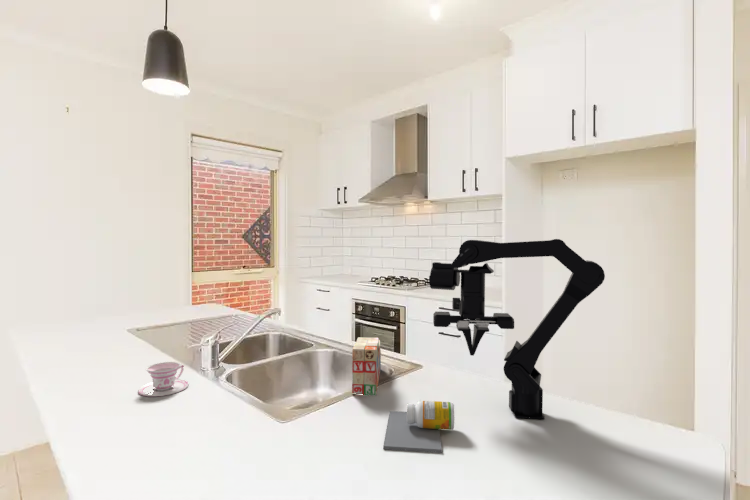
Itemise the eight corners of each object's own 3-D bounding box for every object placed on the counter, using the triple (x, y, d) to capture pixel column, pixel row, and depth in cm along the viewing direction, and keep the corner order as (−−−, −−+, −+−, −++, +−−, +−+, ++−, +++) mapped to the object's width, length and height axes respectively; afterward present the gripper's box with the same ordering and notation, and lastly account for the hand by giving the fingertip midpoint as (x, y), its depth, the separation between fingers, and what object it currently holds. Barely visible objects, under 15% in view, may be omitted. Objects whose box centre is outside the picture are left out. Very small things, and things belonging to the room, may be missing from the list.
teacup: (144, 401, 100) (144, 376, 99) (133, 388, 109) (133, 365, 108) (194, 389, 108) (194, 366, 107) (181, 378, 117) (180, 356, 116)
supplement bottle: (453, 431, 85) (407, 428, 87) (452, 404, 88) (407, 402, 89) (454, 428, 81) (406, 425, 82) (454, 400, 83) (406, 397, 85)
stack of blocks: (360, 369, 125) (361, 329, 125) (380, 369, 125) (381, 330, 125) (351, 395, 104) (352, 348, 104) (376, 396, 104) (376, 348, 103)
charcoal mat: (437, 415, 92) (437, 413, 92) (441, 452, 76) (441, 449, 76) (389, 413, 93) (389, 410, 93) (383, 449, 77) (383, 445, 77)
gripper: (505, 288, 105) (504, 347, 106) (433, 286, 107) (432, 345, 108) (515, 293, 94) (514, 360, 94) (434, 292, 96) (433, 357, 97)
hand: (471, 355), depth 99 cm, fingers closed
